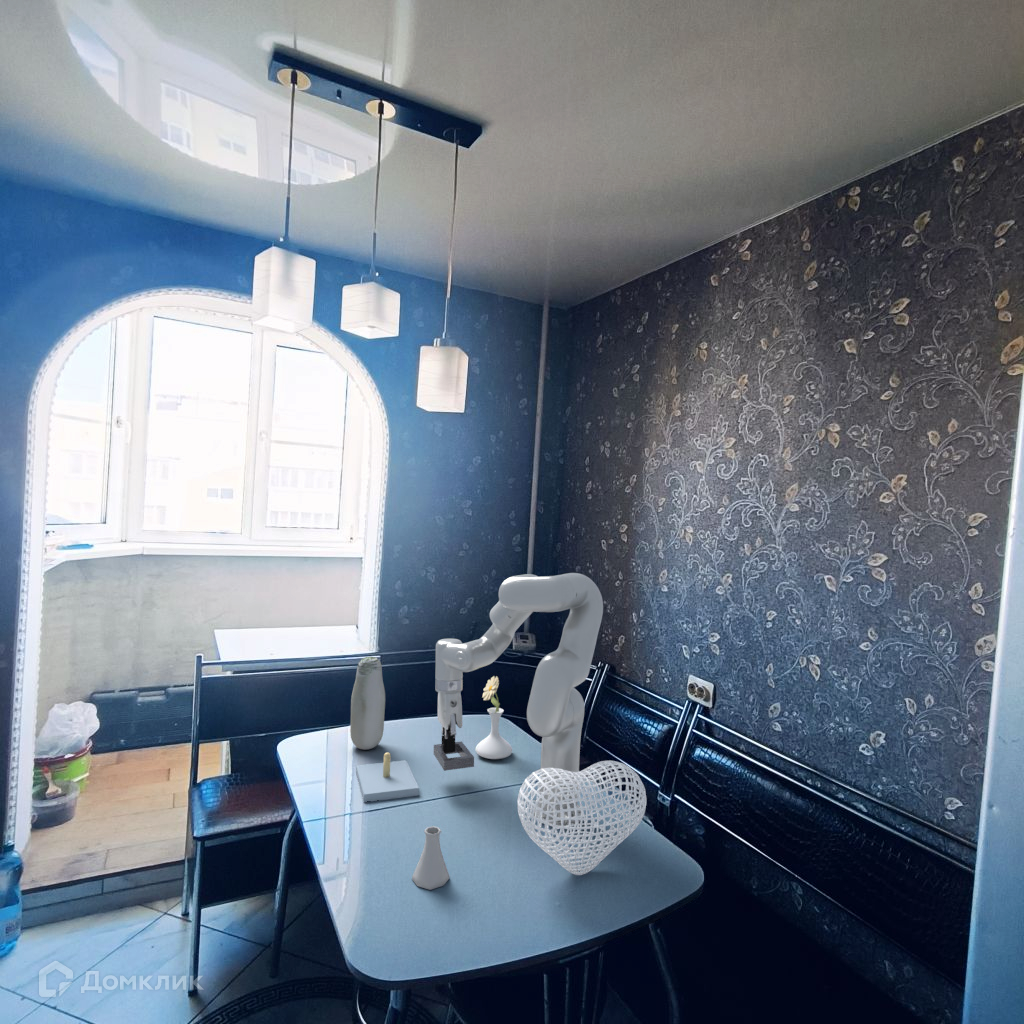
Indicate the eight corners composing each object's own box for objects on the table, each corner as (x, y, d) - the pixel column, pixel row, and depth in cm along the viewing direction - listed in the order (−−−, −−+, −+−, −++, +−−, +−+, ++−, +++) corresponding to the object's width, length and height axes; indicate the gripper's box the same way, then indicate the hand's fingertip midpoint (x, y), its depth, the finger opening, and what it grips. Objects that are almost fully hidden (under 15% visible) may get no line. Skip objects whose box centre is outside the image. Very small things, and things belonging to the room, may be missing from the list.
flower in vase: (476, 747, 194) (480, 667, 194) (513, 748, 193) (516, 669, 193) (472, 764, 181) (476, 679, 181) (511, 766, 180) (514, 681, 180)
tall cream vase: (350, 742, 193) (354, 653, 193) (383, 741, 195) (387, 653, 195) (348, 754, 184) (351, 661, 183) (382, 753, 186) (386, 661, 185)
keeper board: (418, 795, 160) (419, 763, 160) (363, 802, 155) (364, 769, 155) (405, 767, 177) (406, 738, 177) (355, 772, 172) (357, 742, 172)
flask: (431, 864, 129) (433, 817, 129) (456, 878, 125) (458, 829, 125) (405, 879, 124) (407, 830, 124) (429, 895, 119) (432, 844, 119)
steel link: (474, 766, 161) (474, 757, 161) (444, 770, 158) (444, 760, 158) (461, 750, 172) (461, 741, 172) (433, 753, 169) (433, 744, 169)
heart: (531, 909, 116) (536, 792, 116) (503, 864, 130) (508, 760, 130) (658, 883, 126) (662, 775, 126) (619, 843, 140) (623, 747, 140)
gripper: (469, 690, 164) (469, 759, 164) (454, 676, 179) (454, 740, 179) (442, 693, 162) (441, 763, 162) (429, 678, 176) (428, 743, 176)
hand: (448, 750), depth 170 cm, fingers closed on steel link, 1 cm apart
